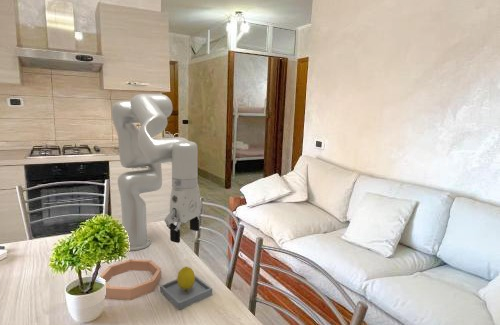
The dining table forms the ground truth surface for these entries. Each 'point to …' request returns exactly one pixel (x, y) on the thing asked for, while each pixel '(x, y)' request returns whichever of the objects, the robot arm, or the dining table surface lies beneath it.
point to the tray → (185, 293)
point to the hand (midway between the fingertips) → (185, 235)
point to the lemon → (186, 278)
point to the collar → (136, 290)
